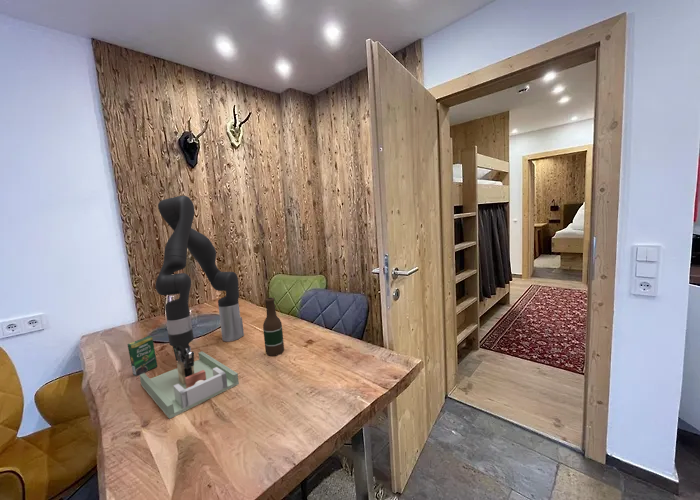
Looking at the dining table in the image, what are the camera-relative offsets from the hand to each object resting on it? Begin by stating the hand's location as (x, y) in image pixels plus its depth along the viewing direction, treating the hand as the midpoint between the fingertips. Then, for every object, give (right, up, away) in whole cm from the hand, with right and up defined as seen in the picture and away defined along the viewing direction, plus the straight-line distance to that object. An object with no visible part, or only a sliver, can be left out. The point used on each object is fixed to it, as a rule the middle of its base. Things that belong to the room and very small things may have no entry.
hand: (186, 374), depth 105 cm
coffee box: (-23, -4, +11) cm, 26 cm away
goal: (+10, -4, -8) cm, 13 cm away
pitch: (+1, -3, -1) cm, 4 cm away
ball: (+9, -1, -8) cm, 12 cm away
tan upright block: (+3, -2, -2) cm, 4 cm away
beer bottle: (+27, +1, +21) cm, 34 cm away
